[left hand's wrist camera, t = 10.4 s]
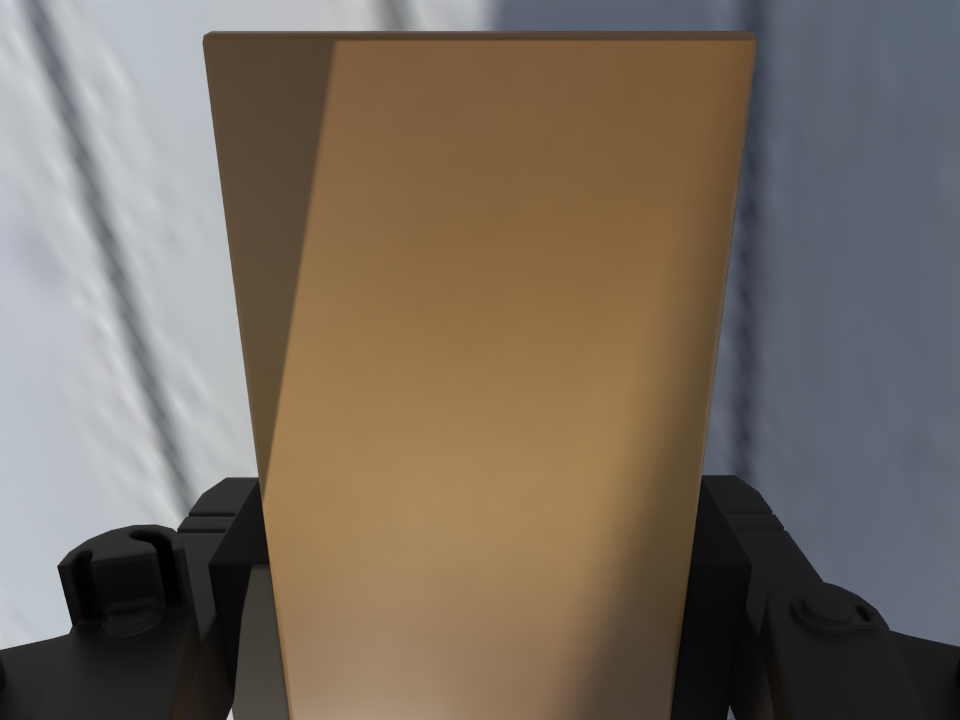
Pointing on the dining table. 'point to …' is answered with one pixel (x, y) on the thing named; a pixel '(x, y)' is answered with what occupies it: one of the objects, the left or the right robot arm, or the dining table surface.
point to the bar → (480, 353)
